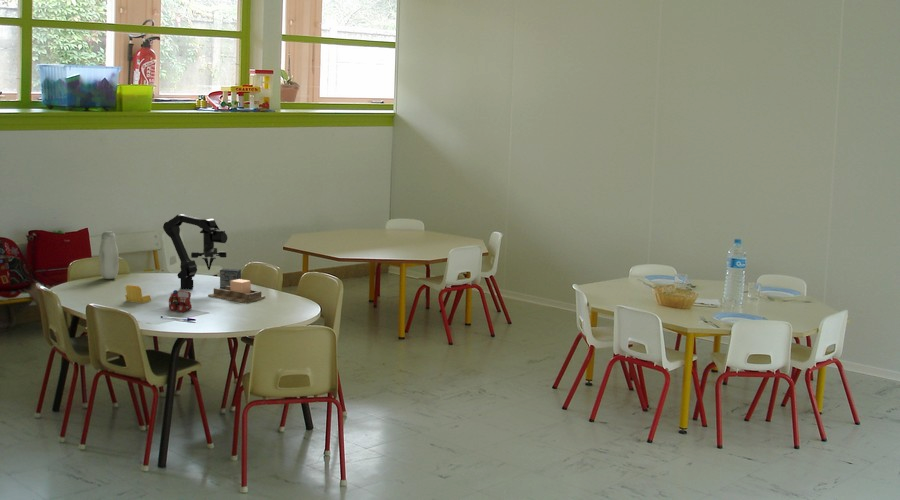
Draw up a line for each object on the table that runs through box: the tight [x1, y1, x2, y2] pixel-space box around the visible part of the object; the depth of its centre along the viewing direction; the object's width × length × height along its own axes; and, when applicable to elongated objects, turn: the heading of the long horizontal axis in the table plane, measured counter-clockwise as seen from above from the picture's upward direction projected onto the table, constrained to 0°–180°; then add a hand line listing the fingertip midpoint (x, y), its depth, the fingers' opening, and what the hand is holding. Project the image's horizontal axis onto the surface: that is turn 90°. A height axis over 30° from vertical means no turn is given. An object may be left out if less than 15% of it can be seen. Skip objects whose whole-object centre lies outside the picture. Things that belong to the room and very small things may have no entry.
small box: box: [219, 268, 242, 289], centre depth 555 cm, size 11×6×10 cm, turn 84°
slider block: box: [230, 278, 252, 294], centre depth 529 cm, size 8×7×8 cm
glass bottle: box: [98, 230, 120, 280], centre depth 567 cm, size 10×10×28 cm
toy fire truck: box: [168, 289, 193, 314], centre depth 495 cm, size 7×12×10 cm, turn 69°
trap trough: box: [207, 286, 266, 304], centre depth 531 cm, size 26×16×4 cm, turn 60°
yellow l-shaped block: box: [124, 284, 152, 304], centre depth 513 cm, size 10×10×9 cm
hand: (208, 269), depth 542 cm, fingers closed
